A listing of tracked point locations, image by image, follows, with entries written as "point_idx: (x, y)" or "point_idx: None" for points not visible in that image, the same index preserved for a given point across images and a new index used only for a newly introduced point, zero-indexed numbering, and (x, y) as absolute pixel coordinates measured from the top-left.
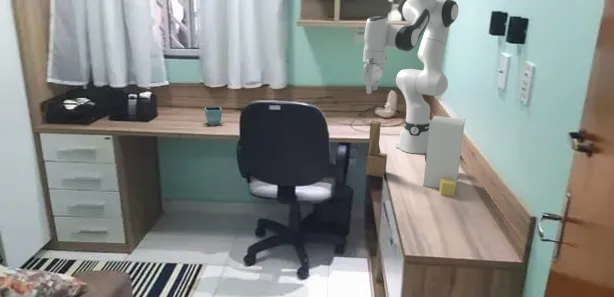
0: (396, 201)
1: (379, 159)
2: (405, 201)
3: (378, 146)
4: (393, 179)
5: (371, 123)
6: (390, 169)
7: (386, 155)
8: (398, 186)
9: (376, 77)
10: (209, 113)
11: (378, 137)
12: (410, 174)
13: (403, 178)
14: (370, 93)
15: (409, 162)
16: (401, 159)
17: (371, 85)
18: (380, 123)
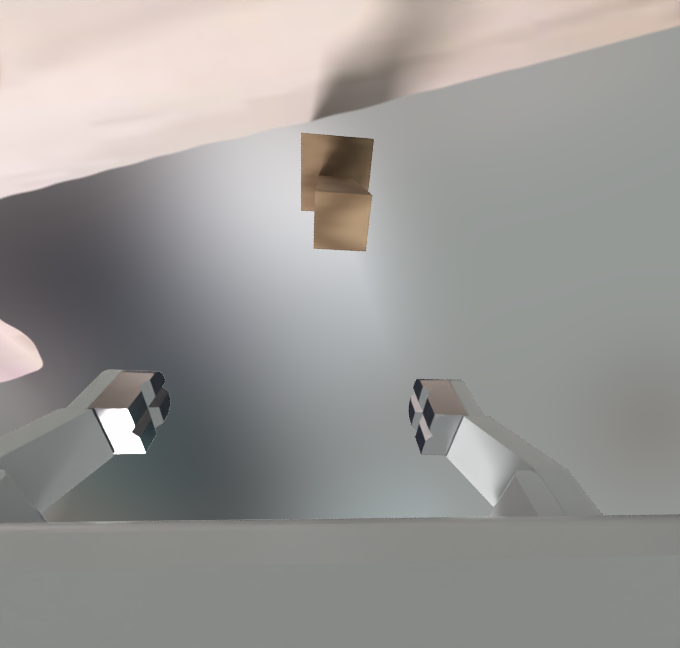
0: (585, 47)
1: (370, 159)
2: (587, 6)
3: (325, 178)
4: (375, 91)
5: (365, 243)
6: (270, 121)
7: (317, 134)
8: (443, 58)
9: (350, 637)
10: None
11: (344, 184)
12: (292, 14)
13: (352, 46)
14: (461, 380)
15: (134, 38)
16: (118, 87)
17: (531, 470)
18: (319, 190)
